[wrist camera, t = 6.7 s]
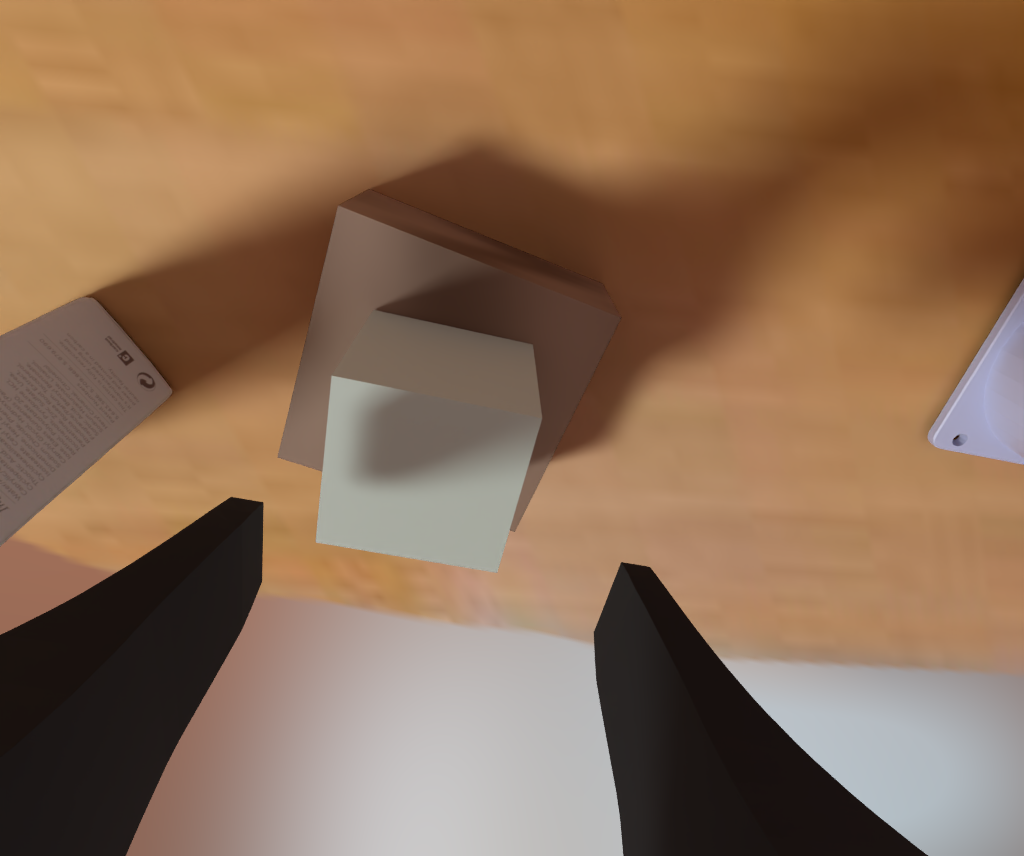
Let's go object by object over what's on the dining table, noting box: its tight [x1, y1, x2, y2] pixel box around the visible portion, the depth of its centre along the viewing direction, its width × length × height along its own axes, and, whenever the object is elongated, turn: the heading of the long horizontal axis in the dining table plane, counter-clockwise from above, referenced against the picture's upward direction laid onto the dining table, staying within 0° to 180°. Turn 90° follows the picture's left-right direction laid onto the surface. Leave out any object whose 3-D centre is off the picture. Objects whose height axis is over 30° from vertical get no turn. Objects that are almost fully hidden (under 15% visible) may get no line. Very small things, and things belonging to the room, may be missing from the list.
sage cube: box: [316, 310, 542, 573], centre depth 15 cm, size 4×4×4 cm
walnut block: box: [278, 189, 621, 532], centre depth 19 cm, size 8×8×4 cm
